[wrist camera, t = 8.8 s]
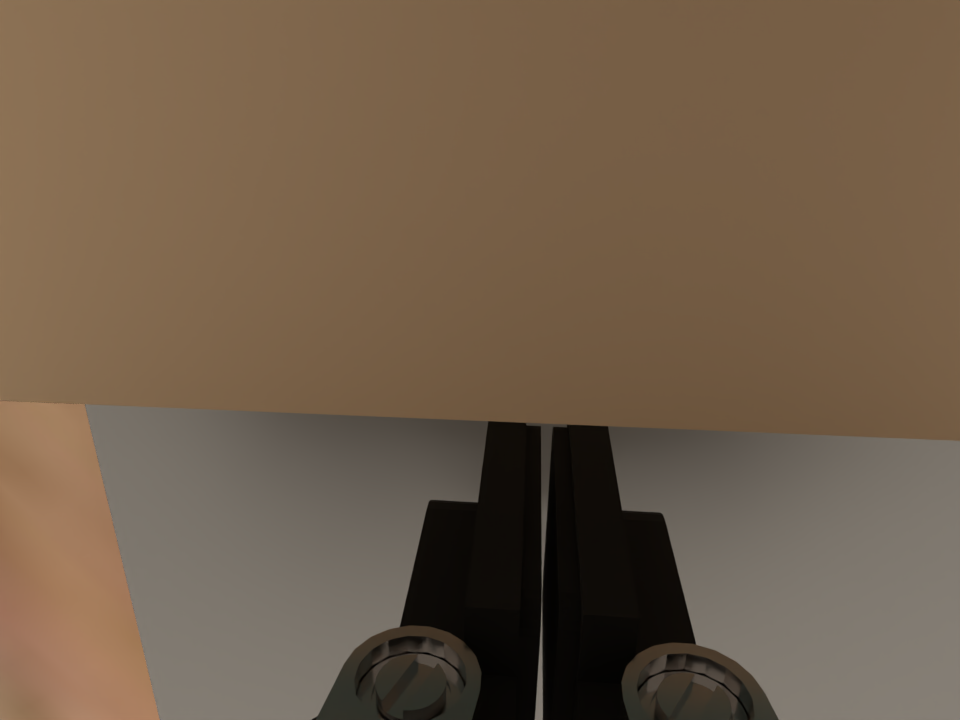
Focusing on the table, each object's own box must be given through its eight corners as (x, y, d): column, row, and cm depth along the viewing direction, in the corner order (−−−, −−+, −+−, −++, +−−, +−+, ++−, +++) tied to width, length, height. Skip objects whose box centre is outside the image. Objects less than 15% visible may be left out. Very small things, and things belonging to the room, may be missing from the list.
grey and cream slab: (-51, -724, 9) (-239, -955, 7) (1357, -811, 8) (1660, -1118, 6) (229, 752, 20) (190, 846, 18) (853, 798, 19) (894, 903, 17)
